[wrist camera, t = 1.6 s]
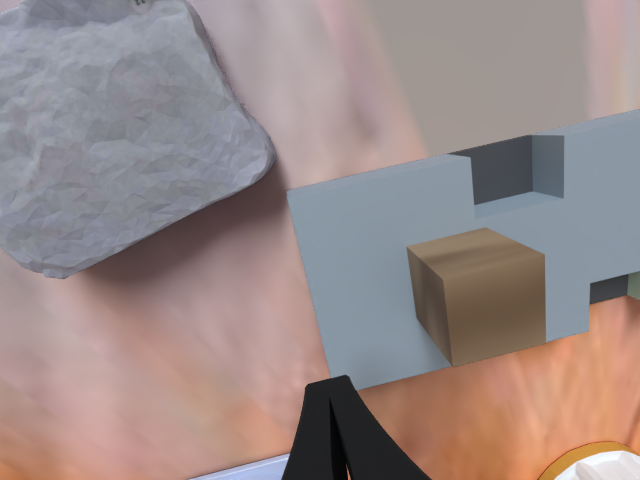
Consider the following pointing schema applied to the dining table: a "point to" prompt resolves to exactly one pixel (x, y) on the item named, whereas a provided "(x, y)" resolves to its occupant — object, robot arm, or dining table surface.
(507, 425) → the dining table surface
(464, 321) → the walnut cube
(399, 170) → the board
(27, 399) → the dining table surface
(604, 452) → the cup
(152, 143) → the stone block
